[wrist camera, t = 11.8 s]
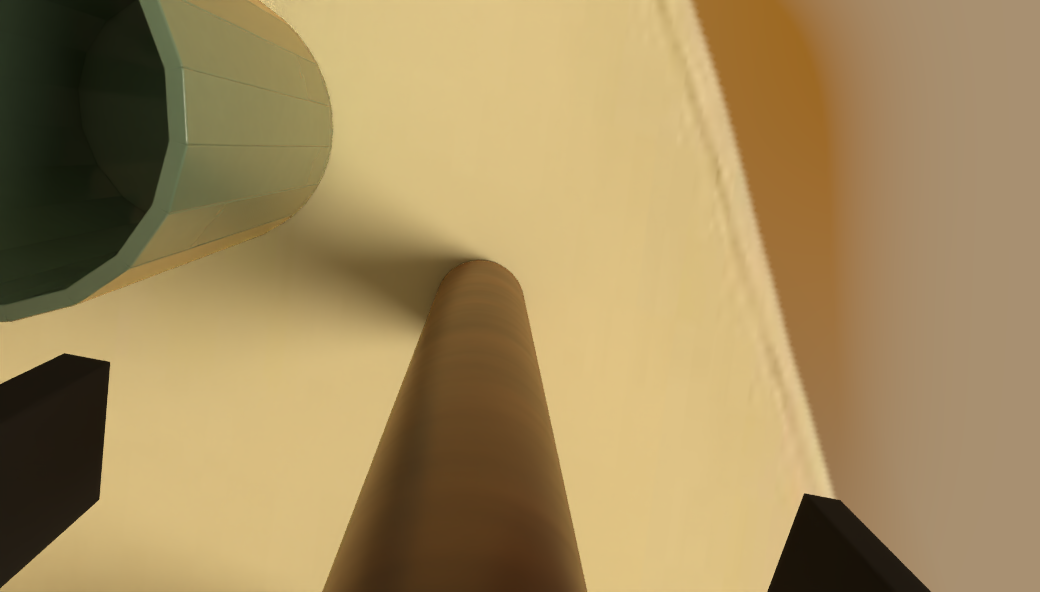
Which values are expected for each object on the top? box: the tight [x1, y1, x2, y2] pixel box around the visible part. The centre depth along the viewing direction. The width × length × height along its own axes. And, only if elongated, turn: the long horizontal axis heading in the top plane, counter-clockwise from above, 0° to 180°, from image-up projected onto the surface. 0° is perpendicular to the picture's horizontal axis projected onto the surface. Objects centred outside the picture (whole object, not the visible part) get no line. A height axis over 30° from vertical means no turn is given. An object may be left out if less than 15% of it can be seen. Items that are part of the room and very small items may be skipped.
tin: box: [0, 0, 333, 322], centre depth 18 cm, size 10×10×12 cm
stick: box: [322, 260, 587, 592], centre depth 16 cm, size 4×4×21 cm
